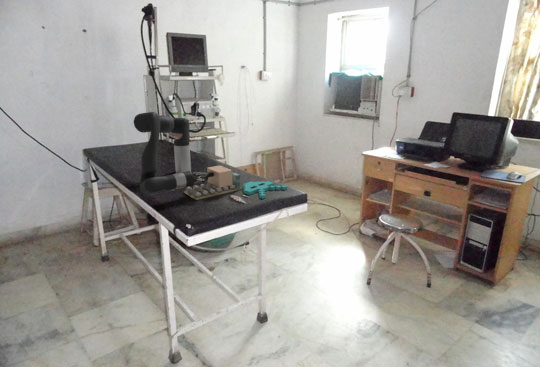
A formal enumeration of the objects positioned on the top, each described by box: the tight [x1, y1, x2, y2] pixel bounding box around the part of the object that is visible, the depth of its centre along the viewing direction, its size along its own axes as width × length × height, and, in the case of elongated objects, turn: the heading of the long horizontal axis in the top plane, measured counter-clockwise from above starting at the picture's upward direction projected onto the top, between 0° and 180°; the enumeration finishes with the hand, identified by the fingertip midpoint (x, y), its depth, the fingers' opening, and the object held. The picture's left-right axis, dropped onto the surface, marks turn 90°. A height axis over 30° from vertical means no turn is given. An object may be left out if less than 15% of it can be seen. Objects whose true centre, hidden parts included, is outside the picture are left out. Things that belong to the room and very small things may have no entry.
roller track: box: [183, 171, 243, 201], centre depth 193 cm, size 13×27×8 cm, turn 129°
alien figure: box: [242, 180, 288, 200], centre depth 198 cm, size 20×2×20 cm
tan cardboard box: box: [206, 164, 233, 188], centre depth 195 cm, size 12×8×8 cm, turn 39°
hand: (212, 174), depth 192 cm, fingers closed
